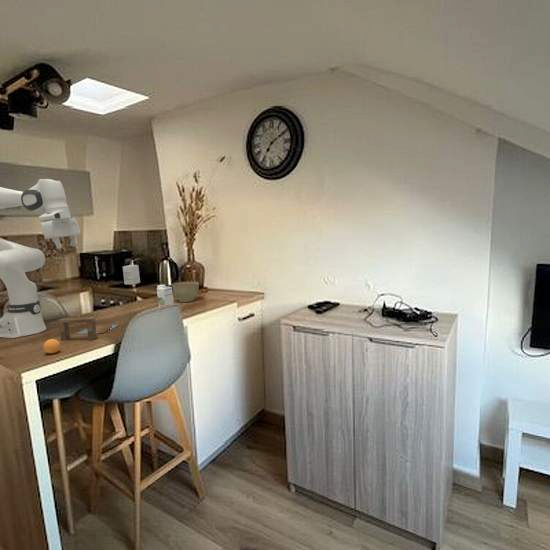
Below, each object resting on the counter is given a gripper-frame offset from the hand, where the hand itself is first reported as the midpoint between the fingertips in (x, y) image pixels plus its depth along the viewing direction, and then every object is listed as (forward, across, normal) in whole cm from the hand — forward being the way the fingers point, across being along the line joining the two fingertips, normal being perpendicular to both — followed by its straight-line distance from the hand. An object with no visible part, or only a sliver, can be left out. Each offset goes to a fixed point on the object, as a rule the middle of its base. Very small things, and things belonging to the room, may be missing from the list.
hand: (67, 247), depth 159 cm
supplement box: (+38, -131, -42) cm, 143 cm away
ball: (+36, +26, +2) cm, 45 cm away
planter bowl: (+44, -61, +26) cm, 80 cm away
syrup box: (+43, -30, +25) cm, 58 cm away
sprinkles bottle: (+43, -42, +19) cm, 63 cm away
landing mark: (+40, -4, +3) cm, 40 cm away
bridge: (+39, +10, +2) cm, 41 cm away
